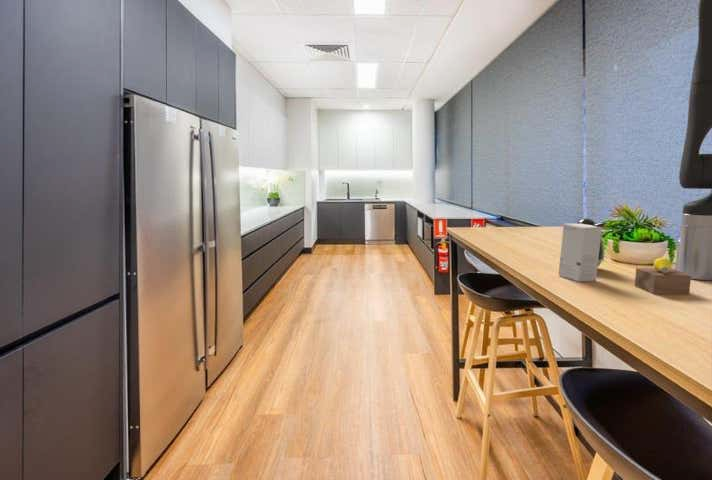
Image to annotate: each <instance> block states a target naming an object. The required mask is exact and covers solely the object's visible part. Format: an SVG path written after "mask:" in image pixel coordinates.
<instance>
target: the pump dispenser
mask: <svg viewBox="0 0 712 480" xmlns="http://www.w3.org/2000/svg"><path fill="white" fill-rule="evenodd" d="M576 224H586V225H592V226H597V227H601V228H603V227H605V226H606V223H605V222H604V221H603V222H599V223H596V222H595V221H594V220H593V219H591V218H582V219H580V220H579V221H577V223H576ZM604 249H605V248H604V243H603V238H602V236H601V241H600V250H599V258H598V267H600V265H601V264H602V262H603V260H604V258H605V257H604V256H605V251H604Z"/></svg>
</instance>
